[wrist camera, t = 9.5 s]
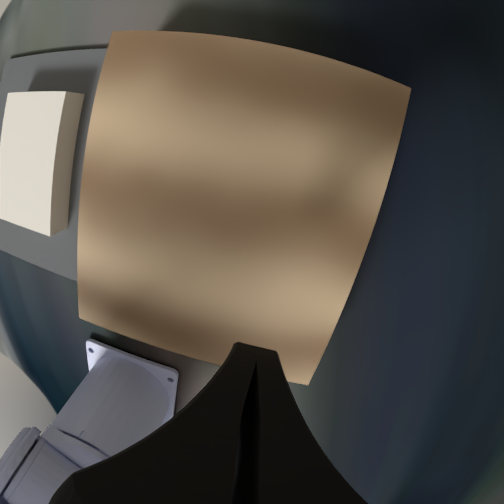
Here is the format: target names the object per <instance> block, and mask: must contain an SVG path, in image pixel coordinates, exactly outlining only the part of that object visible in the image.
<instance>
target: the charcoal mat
mask: <svg viewBox="0 0 504 504" xmlns="http://www.w3.org/2000/svg"><path fill="white" fill-rule="evenodd" d="M106 51H107V48H104V49H84V50H70V51H60V52H51V53H43V54H36V55H30V56H24V57H18V58H13V59H8V60H6V62H5V66H4V70H3V74H2V78H1V83H0V141H1V132H2V125H3V118H4V112H5V106H6V101H7V95H8V93H13V92H36V91H67V92H74V93H80V94H85V96H84V100H83V105H82V110H81V115H80V120H79V126H78V131H77V138H76V144H75V151H74V158H73V166H72V175H71V185H70V197H69V212H68V228H67V229H65V230H63V231H60V232H58V233H56V234H54V235H52V236H47V235H44V234H41V233H39V232H36V231H33V230H30V229H27V228H25V227H22V226H19V225H16V224H14V223H11V222H8V221H6V220H3V219H0V250H2V251H5V252H7V253H9V254H11V255H14V256H16V257H18V258H20V259H23V260H25V261H27V262H30V263H32V264H34V265H37V266H39V267H42V268H44V269H47V270H49V271H52V272H54V273H57V274H59V275H62V276H64V277H67V278H69V279H72V280H75V281H77V241H78V217H79V201H80V190H81V179H82V170H83V162H84V155H85V148H86V141H87V135H88V129H89V123H90V118H91V113H92V108H93V103H94V98H95V94H96V90H97V85H98V81H99V77H100V73H101V69H102V66H103V62H104V58H105V55H106ZM77 282H78V281H77Z"/></svg>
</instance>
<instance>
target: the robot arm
mask: <svg viewBox="0 0 504 504" xmlns="http://www.w3.org/2000/svg"><path fill="white" fill-rule="evenodd" d="M86 349H87V358H88V366H89V373H88V374H87V375H86V377H85V378H84V379H83V381H82V382H81V383H80V385H79V386H78V388H77V389H76V390H75V392H74V393H73V394H72V396H71V397H70V398H69V400H68V401H67V403H66V404H65V405H64V407H63V408H62V409H61V411H60V412H59V414H58V415H57V416H56V418H55V419H54V421H53V422H52V424H51V425H49V426H48V427H47V429H46V430H45V431H44V433H43V434H42V435H41V436H39V434H40V433H41V431H40V430H39V429H37V428H36V427H32V428H24V429H22V431H21V432H20V433H19V434H18V435H17V437H16V438H15V439H14V440H13V442H12V443H11V444H10V446H9V447H8V449H7V450H6V451H5V453H4V454H3V456H2V457H1V459H0V504H368V503H367V502H366V501H365V500H364V499H363V498H362V497H361V496H360V495H359V494H358V493H357V492H356V491H355V490H354V489H353V488H352V487H351V486H350V485H349V484H348V482H347V481H346V480H345V479H344V478H343V477H342V475H341V474H340V473H339V472H338V471H337V470H336V468H335V467H334V466H333V464H332V463H331V462H330V460H329V459H328V458H327V456H326V455H325V453H324V452H323V450H322V449H321V447H320V446H319V444H318V443H317V441H316V440H315V438H314V436H313V435H312V433H311V431H310V429H309V428H308V426H307V424H306V422H305V420H304V418H303V416H302V414H301V412H300V410H299V408H298V406H297V404H296V402H295V399H294V397H293V395H292V392H291V390H290V387H289V385H288V382H287V380H286V377H285V374H284V371H283V368H282V365H281V362H280V358H279V355H278V353H277V351H275V350H270V349H266V348H262V347H257V346H253V345H249V344H245V343H241V342H236V343H234V344H233V347H232V349H231V351H230V353H229V355H228V357H227V358H226V360H225V361H224V363H223V364H222V366H221V367H220V368H219V370H218V371H217V372H216V374H215V375H214V376H213V377H212V379H211V380H210V381H209V382H208V383H207V385H206V386H205V387H204V388H203V389H202V390H201V391H200V392H199V393H198V394H197V395H196V396H195V397H194V398H193V399H192V400H191V401H190V402H189V403H188V404H187V405H186V406H185V407H184V408H183V409H182V410H180V411H179V412H178V413H177V414H176V415H175V416H174V408H175V399H176V391H177V383H178V376H179V374H178V372H177V370H175V369H173V368H170V367H167V366H164V365H161V364H158V363H155V362H152V361H149V360H146V359H144V358H141V357H138V356H135V355H132V354H130V353H127V352H124V351H122V350H119V349H116V348H114V347H111V346H109V345H106V344H104V343H101V342H99V341H96V340H94V339H91V338H90V339H88V340H87V341H86ZM92 349H93V350H92ZM171 378H172V379H171Z"/></svg>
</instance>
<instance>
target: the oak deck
mask: <svg viewBox="0 0 504 504" xmlns="http://www.w3.org/2000/svg"><path fill="white" fill-rule="evenodd" d="M410 92H411V88H409V87H407V86H405V85H403V84H400V83H398V82H395V81H393V80H391V79H388V78H386V77H383V76H380V75H378V74H375V73H372V72H370V71H367V70H364V69H361V68H359V67H356V66H353V65H350V64H347V63H344V62H340V61H337V60H334V59H331V58H327V57H324V56H320V55H317V54H313V53H309V52H305V51H301V50H297V49H293V48H289V47H284V46H280V45H275V44H270V43H265V42H260V41H254V40H248V39H242V38H235V37H228V36H221V35H212V34H202V33H190V32H174V31H113V32H112V35H111V38H110V42H109V45H108V48H107V51H106V55H105V58H104V62H103V66H102V69H101V73H100V77H99V81H98V85H97V90H96V94H95V98H94V103H93V108H92V113H91V118H90V123H89V129H88V135H87V141H86V148H85V155H84V162H83V170H82V179H81V190H80V201H79V217H78V241H77V281H78V305H79V318H81V319H83V320H86V321H88V322H91V323H93V324H96V325H98V326H101V327H103V328H106V329H108V330H111V331H114V332H116V333H119V334H122V335H124V336H127V337H130V338H133V339H136V340H138V341H141V342H144V343H147V344H150V345H153V346H156V347H159V348H162V349H165V350H168V351H172V352H175V353H178V354H181V355H185V356H188V357H191V358H195V359H198V360H202V361H205V362H209V363H212V364H216V365H220V366H222V364H223V363H224V361H225V360H226V358H227V357H228V355H229V353H230V351H231V349H232V347H233V344H234V343H236V342H241V343H245V344H249V345H253V346H257V347H262V348H266V349H270V350H275V351H277V353H278V355H279V358H280V362H281V365H282V368H283V371H284V374H285V377H286V380H287V381H289V382H294V383H299V384H304V385H308V384H309V382H310V380H311V378H312V376H313V374H314V372H315V370H316V368H317V366H318V363H319V361H320V359H321V357H322V355H323V353H324V351H325V349H326V346H327V344H328V342H329V340H330V338H331V335H332V333H333V331H334V328H335V326H336V324H337V322H338V319H339V317H340V315H341V312H342V310H343V307H344V305H345V303H346V300H347V298H348V295H349V293H350V290H351V288H352V285H353V283H354V280H355V278H356V275H357V272H358V270H359V267H360V264H361V262H362V259H363V256H364V254H365V251H366V248H367V245H368V242H369V240H370V237H371V234H372V231H373V228H374V225H375V222H376V219H377V216H378V213H379V210H380V207H381V203H382V200H383V197H384V194H385V190H386V187H387V184H388V180H389V177H390V173H391V170H392V166H393V163H394V159H395V155H396V152H397V148H398V144H399V140H400V136H401V132H402V128H403V124H404V119H405V115H406V111H407V106H408V101H409V97H410Z"/></svg>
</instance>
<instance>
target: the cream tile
mask: <svg viewBox="0 0 504 504" xmlns="http://www.w3.org/2000/svg"><path fill="white" fill-rule="evenodd" d="M84 96H85V94H80V93H74V92H67V91H36V92H13V93H8V95H7V101H6V106H5V112H4V118H3V125H2V132H1V141H0V219H3V220H6V221H8V222H11V223H14V224H16V225H19V226H22V227H25V228H27V229H30V230H33V231H36V232H39V233H41V234H44V235H47V236H52V235H54V234H56V233H58V232H60V231H63V230H65V229H67V228H68V212H69V197H70V185H71V175H72V166H73V158H74V151H75V144H76V138H77V131H78V126H79V120H80V115H81V110H82V105H83V100H84Z"/></svg>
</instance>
